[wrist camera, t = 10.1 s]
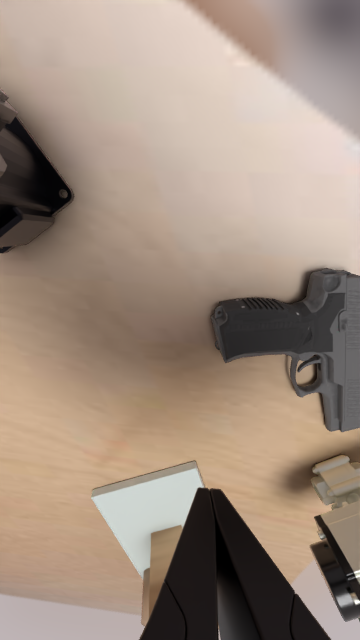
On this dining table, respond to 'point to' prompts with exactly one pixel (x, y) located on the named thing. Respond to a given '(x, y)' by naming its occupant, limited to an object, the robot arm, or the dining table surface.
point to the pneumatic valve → (339, 532)
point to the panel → (147, 512)
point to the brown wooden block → (161, 559)
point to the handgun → (304, 339)
